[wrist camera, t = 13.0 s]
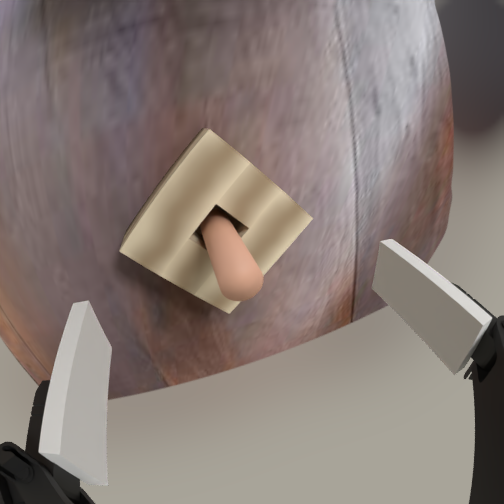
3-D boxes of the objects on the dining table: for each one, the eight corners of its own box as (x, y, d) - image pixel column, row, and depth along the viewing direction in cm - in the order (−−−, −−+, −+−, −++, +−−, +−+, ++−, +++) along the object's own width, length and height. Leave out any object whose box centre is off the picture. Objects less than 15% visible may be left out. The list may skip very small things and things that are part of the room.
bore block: (126, 231, 34) (119, 251, 29) (202, 128, 31) (209, 129, 26) (220, 289, 41) (229, 313, 36) (293, 204, 39) (313, 218, 34)
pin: (193, 226, 34) (210, 288, 22) (211, 202, 33) (239, 254, 21) (216, 241, 36) (244, 307, 24) (234, 219, 35) (272, 276, 23)
